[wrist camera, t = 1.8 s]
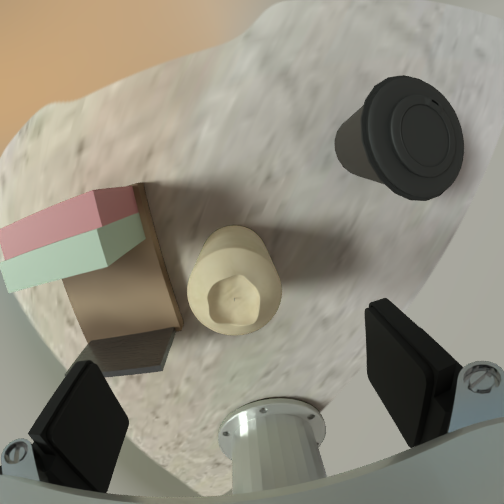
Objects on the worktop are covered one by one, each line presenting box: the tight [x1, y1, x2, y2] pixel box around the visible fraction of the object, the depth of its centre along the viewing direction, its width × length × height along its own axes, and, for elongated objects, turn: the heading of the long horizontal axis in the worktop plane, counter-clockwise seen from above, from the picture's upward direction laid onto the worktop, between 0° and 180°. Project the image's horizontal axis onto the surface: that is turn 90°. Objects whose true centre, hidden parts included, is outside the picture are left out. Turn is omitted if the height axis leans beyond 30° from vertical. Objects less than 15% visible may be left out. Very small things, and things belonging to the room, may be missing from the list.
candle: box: [187, 225, 282, 335], centre depth 21 cm, size 6×6×10 cm
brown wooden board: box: [62, 183, 184, 344], centre depth 25 cm, size 13×10×2 cm
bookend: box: [65, 327, 176, 377], centre depth 22 cm, size 1×9×6 cm, turn 102°
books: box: [0, 186, 146, 293], centre depth 19 cm, size 4×9×8 cm, turn 103°
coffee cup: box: [335, 75, 464, 201], centre depth 19 cm, size 8×8×10 cm
